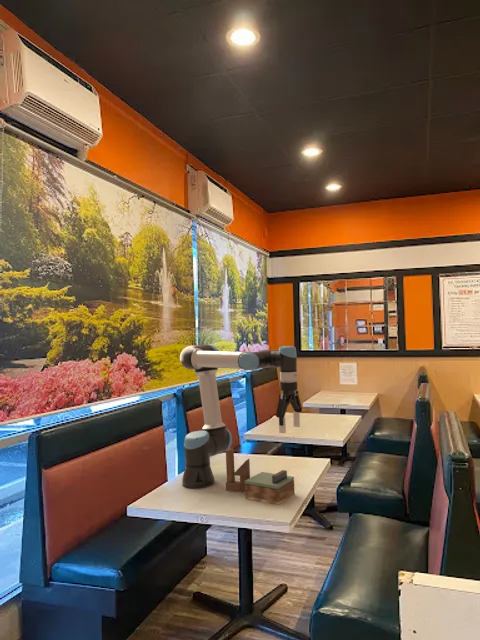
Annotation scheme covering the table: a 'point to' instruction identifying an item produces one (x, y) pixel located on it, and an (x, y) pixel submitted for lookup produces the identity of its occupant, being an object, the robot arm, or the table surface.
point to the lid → (270, 479)
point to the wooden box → (269, 493)
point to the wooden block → (236, 473)
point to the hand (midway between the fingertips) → (289, 429)
